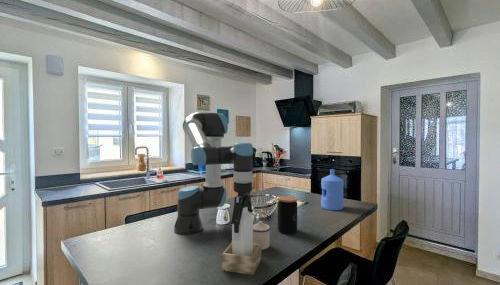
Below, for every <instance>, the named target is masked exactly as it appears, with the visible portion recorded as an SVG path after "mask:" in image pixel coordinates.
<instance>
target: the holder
mask: <svg viewBox="0 0 500 285" xmlns="http://www.w3.org/2000/svg"><path fill="white" fill-rule="evenodd" d="M261 260H262V250H261V244H255V243H253V256H252V257H250V256H243V255H235V254H232V241H231V242H230V243H229V245H228V246H227V247H226V249H225V250H224V251H223V252H222V254H221V271H224V270H225V272H232V273H238V274H245V275H251V276H254V275H255V274H256V271H257V269H258V266H259V265H260V264H261Z"/></svg>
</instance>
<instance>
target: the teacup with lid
mask: <svg viewBox="0 0 500 285" xmlns="http://www.w3.org/2000/svg"><path fill="white" fill-rule="evenodd" d="M270 232H271V226H270V225H268V224H266V223H263V221H262V220H259V221H258V223H253V243H255V244H261V251H264V250H267V249H268V248H270V239H271V238H270V237H271V236H270V234H271V233H270Z"/></svg>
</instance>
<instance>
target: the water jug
mask: <svg viewBox="0 0 500 285" xmlns="http://www.w3.org/2000/svg"><path fill="white" fill-rule="evenodd" d="M335 174H336V171H335V169H334V168H331V169H330V170H329V174H328V175H326V176H324V177H322V178H321V182H320V185H321V187H320V188H321V196H320V207H321V208H322V209H325V210H327V211H342V210H343V209H344V186H345V184H344V183H345V182H344V179H343V178H341V177H339V176H337V175H335Z"/></svg>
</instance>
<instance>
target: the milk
mask: <svg viewBox="0 0 500 285" xmlns="http://www.w3.org/2000/svg"><path fill="white" fill-rule="evenodd" d="M236 221H237V220H236ZM240 223H241V241H234V240H233V230H234V224H231V239H232V240H231V242H232V254H235V255H243V256H250V257H252V256H253V225H254V216H253V214H252V212H249V211H248V210H247V207H245V208H243V211H242V216H241V221H240Z"/></svg>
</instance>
